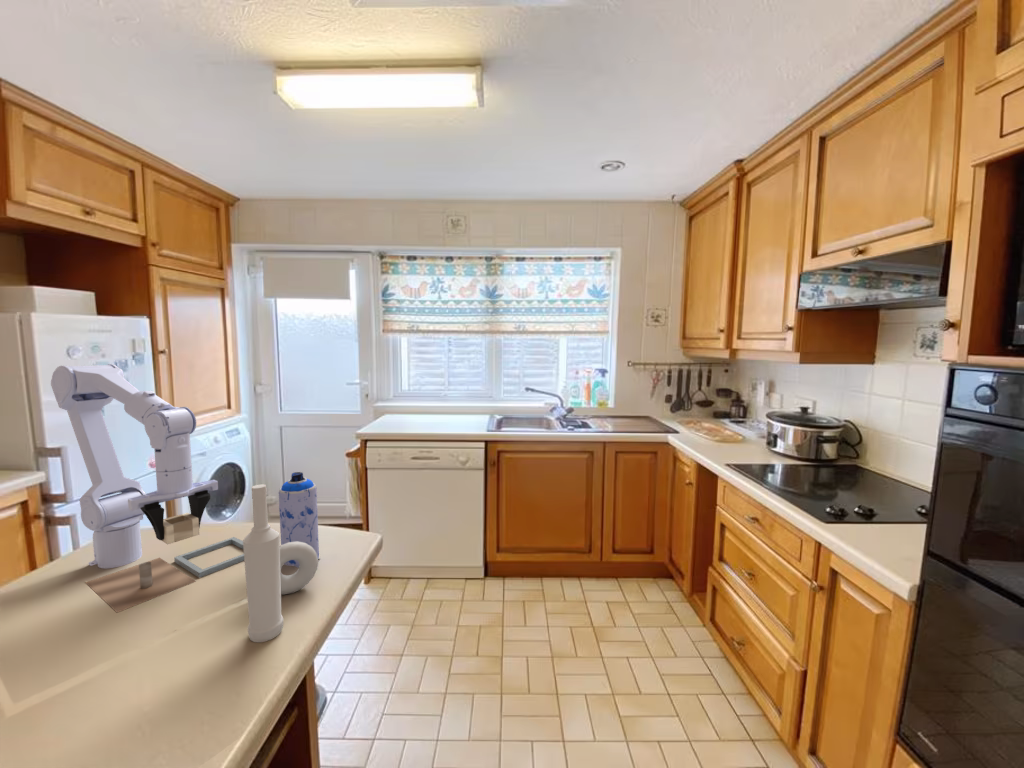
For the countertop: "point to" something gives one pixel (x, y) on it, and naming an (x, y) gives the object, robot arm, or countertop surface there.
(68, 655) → the countertop surface
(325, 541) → the countertop surface
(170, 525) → the hollow wooden block
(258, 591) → the bottle
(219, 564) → the tray
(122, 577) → the stake board
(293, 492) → the aerosol can
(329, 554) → the countertop surface
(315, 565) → the donut
